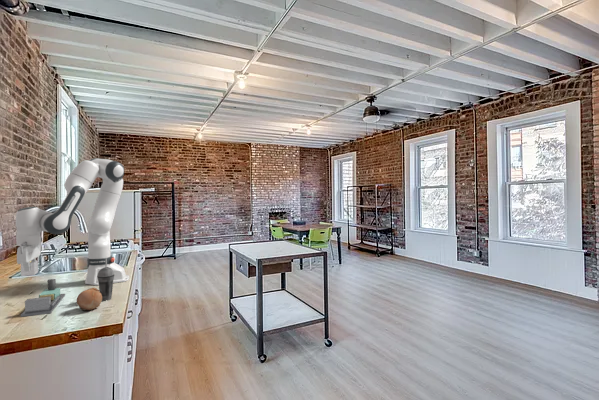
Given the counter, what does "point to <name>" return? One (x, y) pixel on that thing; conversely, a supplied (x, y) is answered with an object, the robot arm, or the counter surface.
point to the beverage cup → (106, 282)
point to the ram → (51, 290)
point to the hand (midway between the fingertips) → (29, 269)
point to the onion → (89, 299)
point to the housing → (32, 270)
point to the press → (41, 305)
